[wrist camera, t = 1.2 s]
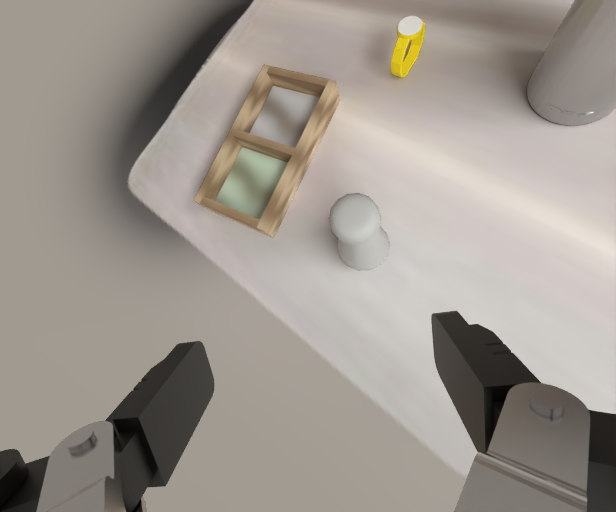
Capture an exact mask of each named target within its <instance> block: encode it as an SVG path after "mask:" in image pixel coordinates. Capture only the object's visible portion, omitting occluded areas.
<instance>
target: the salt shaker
mask: <svg viewBox="0 0 616 512" xmlns="http://www.w3.org/2000/svg"><path fill="white" fill-rule="evenodd" d="M380 221H381V215H380V212H379V208H378V206H377V204H376V203H375V202H374V201H373V200H372V199H371V198H370V197H369V196H366V195H363V194H360V193H354V194H347V195H345V196H343V197H342V198H340V199H338V200H337V201H336V203H335V204H334V205H333V207H332V208H331V212H330V217H329V222H330V226H331V230H332V232H333V233H334V234H335V235H336V237H337V238H338V245H337V247H338V252H339V256H340V258H341V259H342V260H343V261H344V263H345V264H346V265H347V266H349V267H351V268H354V269H356V270H358V271H360V270H371V269H373V268H375V267H377V266H379V265H381V263H382V262H383V261H384V259H385V258H386V257H387V255H388V251H389V246H390V242H389V239H388V236H387V233H386V232H385V231H384V229H383V228H382V227H381V226H380Z"/></svg>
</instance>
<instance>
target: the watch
mask: <svg viewBox="0 0 616 512" xmlns="http://www.w3.org/2000/svg"><path fill="white" fill-rule="evenodd" d="M424 34H425V23H424V21H423V20H421V19H420V18H418V17H416V16H409V17H406V18H404V19H402V20H401V21H400V22H399V24H398V26H397V35H398V39H397V42H396V45H395V48H394V51H393V55H392V59H391V60H392V61H391V72H392V74H393V75H395V76H398V77H401V78H402V77H405V76H406V75H407V73H408V72H409V70H410V68H411V67H412V65H413V64H414V62H415V60H417V57H418V54H419V52H420V49H421V46H422V43H423V39H424ZM410 40H412V42H411V45H410V48H409V51H408V54H407V56H406V58H405V59H404V55H405V50H406V49H407V46H408V44H409V41H410ZM403 59H404V61H403Z"/></svg>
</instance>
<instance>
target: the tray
mask: <svg viewBox="0 0 616 512" xmlns="http://www.w3.org/2000/svg"><path fill="white" fill-rule="evenodd" d="M339 102H340V96H339V92H338V87H337V83H336V81H333V80H329V79H325V78H320V77H316V76H312V75H307V74H303V73H298V72H294V71H290V70H285V69H281V68H277V67H272V66H268V65H263V67H262V69H261V71H260V73H259V75H258V77H257V79H256V81H255V83H254V85H253V87H252V89H251V91H250V93H249V94H248V96H247V98H246V100H245V102H244V104H243V106H242V108H241V110H240V112H239V114H238V116H237V118H236V120H235V122H234V124H233V126H232V127H231V129H230V131H229V133H228V135H227V137H226V139H225V141H224V143H223V145H222V147H221V149H220V151H219V153H218V155H217V157H216V159H215V161H214V162H213V164H212V166H211V168H210V170H209V172H208V174H207V176H206V178H205V180H204V182H203V184H202V186H201V188H200V190H199V192H198V194H197V195H196V197H195V199H194V201H196V202H197V203H199V204H200V205H202V206H203V207H205V208H207V209H208V210H210V211H213V212H215V213H217V214H219V215H222V216H224V217H226V218H229V219H231V220H233V221H236V222H238V223H240V224H243V225H245V226H247V227H250V228H252V229H254V230H257V231H259V232H261V233H264V234H266V235H268V236H270V237H273V238H274V236H275V234H276V232H277V230H278V228H279V226H280V224H281V222H282V220H283V217H284V215H285V213H286V211H287V209H288V207H289V205H290V203H291V201H292V199H293V197H294V195H295V193H296V191H297V189H298V186H299V184H300V182H301V180H302V178H303V176H304V174H305V172H306V170H307V168H308V166H309V164H310V162H311V160H312V157H313V155H314V153H315V151H316V149H317V147H318V145H319V143H320V141H321V139H322V137H323V135H324V133H325V131H326V129H327V126H328V124H329V122H330V120H331V118H332V116H333V114H334V112H335V110H336V108H337V106H338V104H339Z"/></svg>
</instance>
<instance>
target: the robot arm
mask: <svg viewBox="0 0 616 512" xmlns="http://www.w3.org/2000/svg"><path fill="white" fill-rule="evenodd" d="M527 97H528V100H529V103H530V105H531V106H532V108H533V109H534V110H535V112H537V113H538V114H539V115H540V116H541V117H543V118H545V119H547V120H549V121H551V122H554V123H558V124H563V125H583V124H588V123H592V122H594V121H597V120H600V119H601V118H603V117H605V116H607V115H608V114H609V113H610V112H612V111H613V110H614V109H615V108H616V0H575V1H574V3H573V4H572V6H571V8H570V10H569V11H568V13H567V15H566V17H565V18H564V20H563V22H562V24H561V25H560V27H559V29H558V31H557V32H556V34H555V36H554V38H553V39H552V41H551V43H550V44H549V46H548V48H547V49H546V51H545V53H544V55H543V56H542V58H541V60H540V62H539V63H538V65H537V67H536V69H535V70H534V72H533V74H532V76H531V78H530V80H529V82H528V86H527ZM431 320H432V334H433V347H434V358H435V363H436V367H437V370H438V373H439V376H440V378H441V380H442V382H443V384H444V386H445V388H446V390H447V392H448V394H449V396H450V398H451V400H452V402H453V404H454V406H455V408H456V410H457V412H458V414H459V416H460V418H461V420H462V422H463V424H464V426H465V428H466V430H467V432H468V434H469V435H470V437H471V439H472V441H473V443H474V445H475V447H476V449H477V451H478V453H477V454H476V456H475V459H474V461H473V464H472V466H471V469H470V471H469V474H468V477H467V479H466V482H465V485H464V487H463V490H462V493H461V495H460V498H459V500H458V503H457V506H456V508H455V511H454V512H616V414H610V413H603V412H597V411H592V410H588V409H587V407H586V406H585V405H584V404H583V403H582V401H580V400H579V399H578V398H577V397H575V396H574V395H572V394H571V393H569V392H567V391H565V390H563V389H560V388H558V387H555V386H551V385H547V384H543V383H541V382H540V381H539V380H538V379H537V378H536V377H535V376H534V375H533V374H532V373H531V372H530V371H529V369H528V368H527V367H526V366H525V365H524V364H523V363H522V362H521V361H520V360H519V359H518V358H517V357H516V356H515V355H514V354H513V353H511V350H510V349H509V348H508V347H507V346H506V345H505V344H503V342H502V341H501V340H500V339H499V338H498V337H497V336H496V335H495V334H494V332H492V331H490V330H488V329H486V328H484V327H483V326H481V325H479V324H474V325H469V324H468V323H467V322H466V321H465V320H464V318H463V317H462V316H461V315H460V314H459V313H458V312H457V311H450V312H442V313H434V314H432V319H431ZM213 392H214V378H213V375H212V371H211V368H210V364H209V361H208V358H207V354H206V351H205V348H204V346H203V344H202V342H200V341H196V342H187V343H180V344H177V345H176V346H175V348H174V349H173V350H172V351H171V352H170V353H169V355H168V356H167V357H166V358H165V359H164V360H163V361H161V362H160V363H158V364H157V365H156V366H154V367H153V368H151V369H150V371H149V372H148V373H147V374H146V375H145V376H144V377H143V378H142V381H141V382H139V383H138V384H137V385H136V386H135V387H134V390H133V391H131V392H130V393H129V394H128V395H127V397H126V398H125V399H124V400H123V401H122V402H121V403H120V404H119V406H118V407H117V408H116V409H115V410H114V411H113V413H112V414H111V415H110V416H109V417H108V418H107V419H106V420H105V421H100V422H95V423H92V424H89V425H86V426H84V427H82V428H80V429H78V430H77V431H75V432H73V433H72V434H70V435H69V436H68V437H66V438H65V439H64V440H63V441H62V442H60V443H59V444H58V445H57V447H56V448H55V449H54V450H53V451H52V453H51V455H50V456H48V457H45V458H42V459H39V460H36V461H33V462H30V463H26V464H25V462H24V460H23V458H22V457H21V455H20V453H19V451H18V450H15V449H9V450H4V451H1V452H0V512H147V509H146V503H145V500H144V498H143V494H144V492H145V490H146V489H147V487H160V486H166V484H167V482H168V481H169V479H170V477H171V475H172V473H173V471H174V469H175V467H176V465H177V463H178V461H179V459H180V457H181V455H182V453H183V452H184V450H185V448H186V446H187V444H188V442H189V440H190V438H191V436H192V434H193V432H194V430H195V428H196V427H197V425H198V423H199V421H200V419H201V417H202V415H203V413H204V411H205V409H206V407H207V405H208V403H209V401H210V399H211V398H212V395H213Z"/></svg>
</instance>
